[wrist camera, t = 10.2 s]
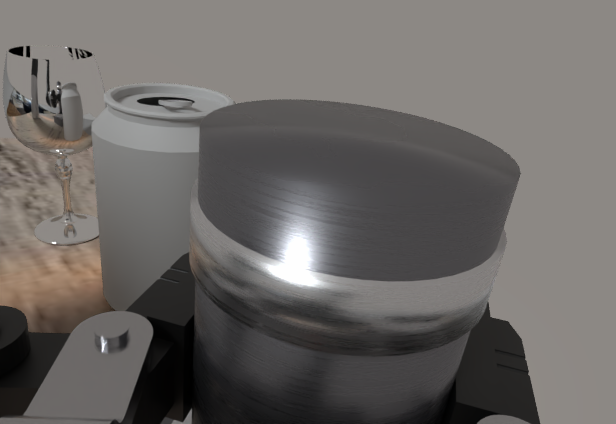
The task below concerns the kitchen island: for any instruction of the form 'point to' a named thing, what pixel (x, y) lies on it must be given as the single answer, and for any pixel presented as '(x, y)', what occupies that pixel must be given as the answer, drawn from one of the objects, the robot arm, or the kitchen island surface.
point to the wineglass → (55, 120)
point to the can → (146, 180)
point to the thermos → (338, 261)
